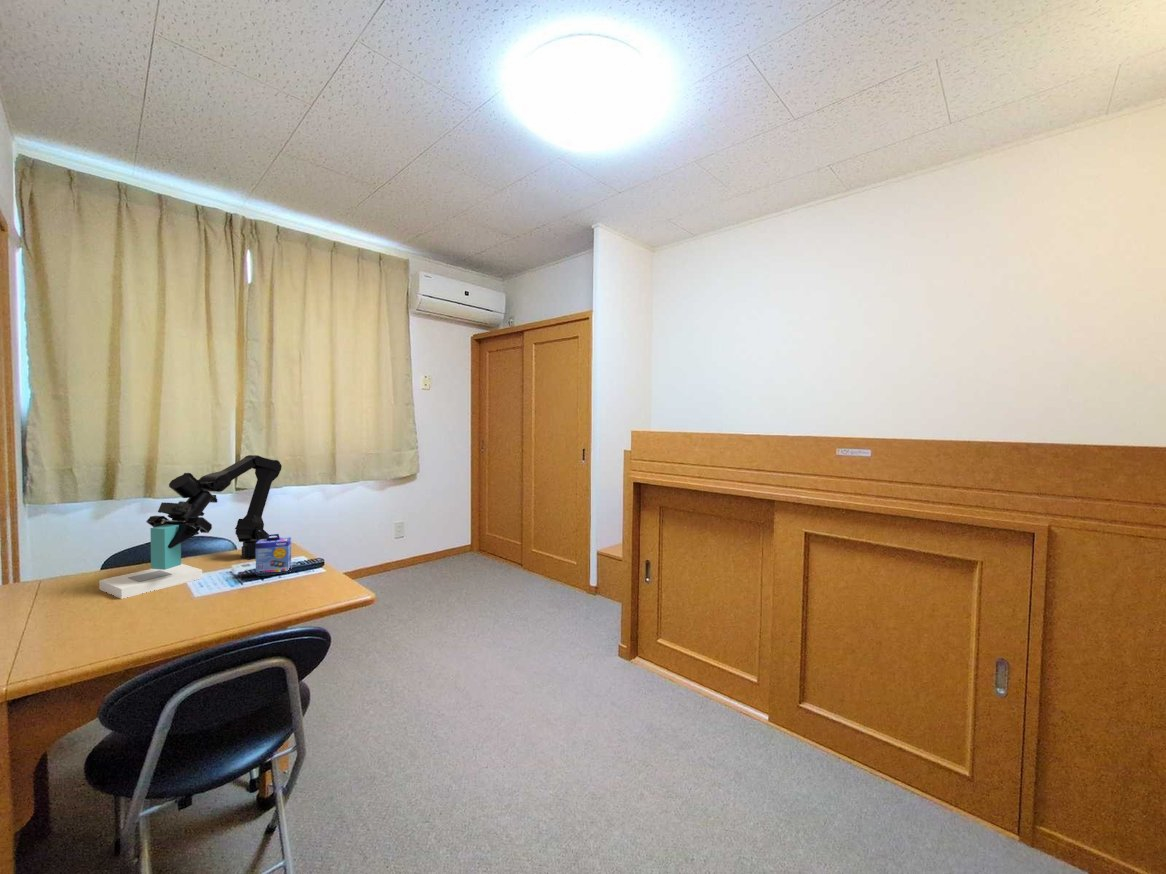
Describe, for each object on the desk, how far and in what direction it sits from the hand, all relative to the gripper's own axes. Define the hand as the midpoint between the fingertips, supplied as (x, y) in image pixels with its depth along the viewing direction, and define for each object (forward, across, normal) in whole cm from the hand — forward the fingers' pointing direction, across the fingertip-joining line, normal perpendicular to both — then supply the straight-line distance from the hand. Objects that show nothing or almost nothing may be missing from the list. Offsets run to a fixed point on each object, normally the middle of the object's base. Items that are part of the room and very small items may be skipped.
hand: (161, 547), depth 141 cm
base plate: (+7, -8, +12) cm, 16 cm away
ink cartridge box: (-3, +23, +22) cm, 32 cm away
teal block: (+4, 0, +6) cm, 7 cm away
